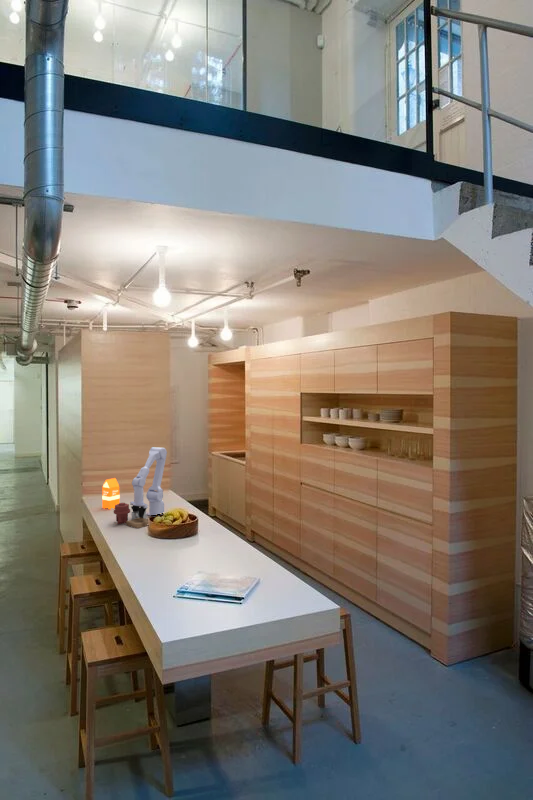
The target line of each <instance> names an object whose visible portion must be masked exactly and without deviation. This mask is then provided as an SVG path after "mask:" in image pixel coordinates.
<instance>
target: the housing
mask: <svg viewBox="0 0 533 800" xmlns="http://www.w3.org/2000/svg"><path fill="white" fill-rule="evenodd" d="M137 518H140V516H139V510H138V511H134V512H133V511H131V520H133V519H137ZM143 518H145V519H147V509H146V510H145V513H144V516H143Z"/></svg>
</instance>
